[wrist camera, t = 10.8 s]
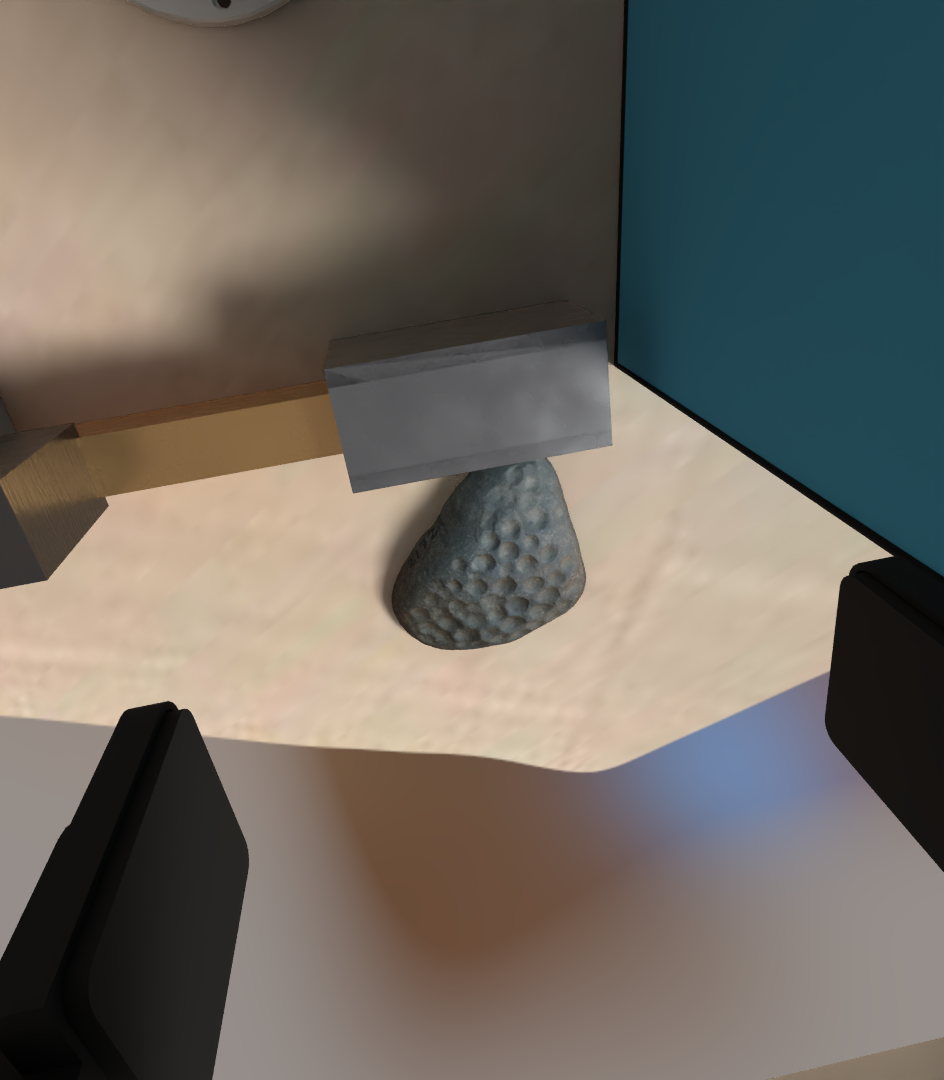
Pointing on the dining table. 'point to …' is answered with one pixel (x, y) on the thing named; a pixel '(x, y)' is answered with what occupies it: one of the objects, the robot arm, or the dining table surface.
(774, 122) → the box
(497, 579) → the fossil
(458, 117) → the dining table surface
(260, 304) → the dining table surface
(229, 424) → the tan bar piece
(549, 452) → the sleeve
